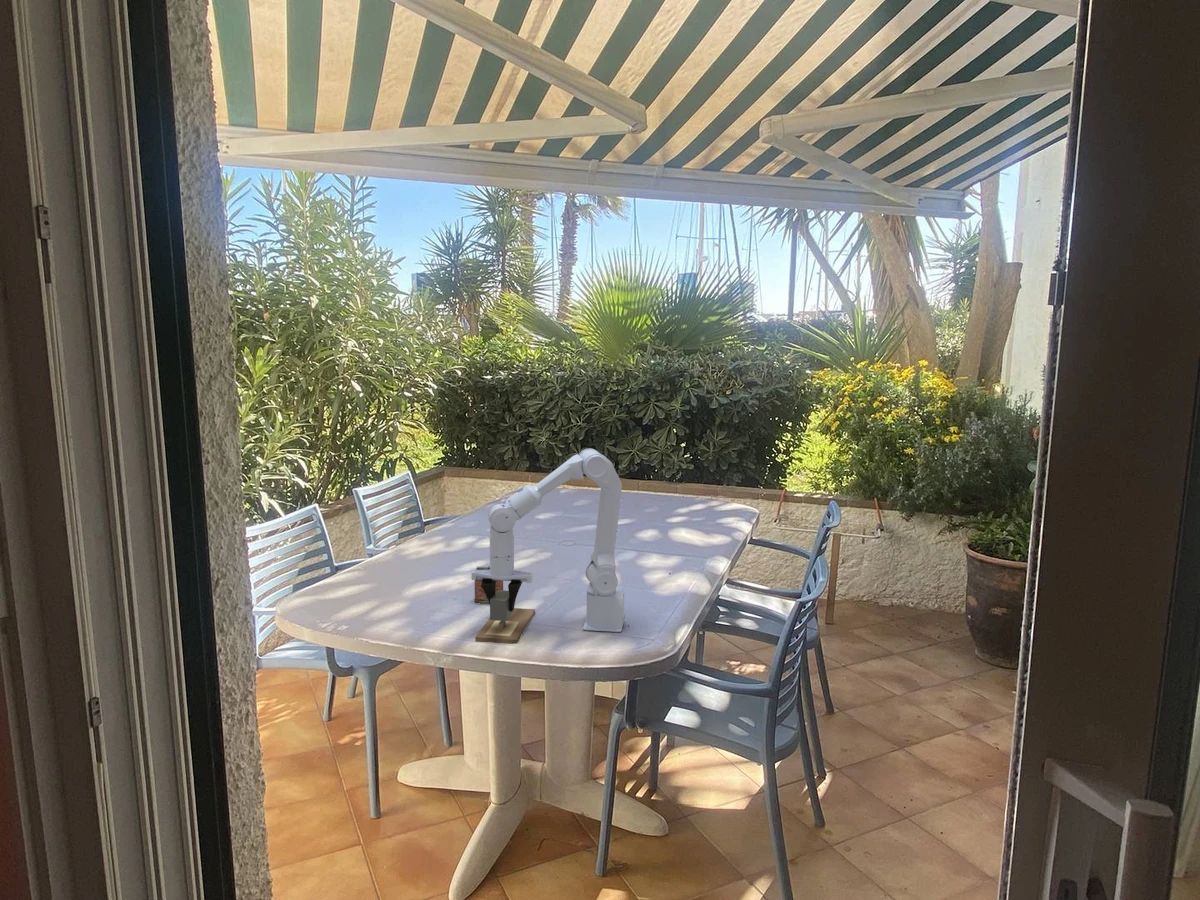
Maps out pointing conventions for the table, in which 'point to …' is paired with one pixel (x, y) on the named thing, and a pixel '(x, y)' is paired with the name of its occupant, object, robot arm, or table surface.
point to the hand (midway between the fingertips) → (502, 609)
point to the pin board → (506, 627)
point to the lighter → (479, 592)
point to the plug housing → (500, 606)
